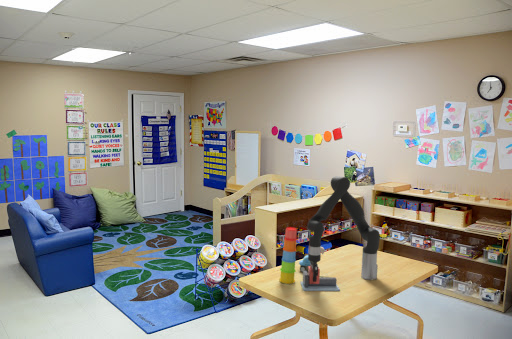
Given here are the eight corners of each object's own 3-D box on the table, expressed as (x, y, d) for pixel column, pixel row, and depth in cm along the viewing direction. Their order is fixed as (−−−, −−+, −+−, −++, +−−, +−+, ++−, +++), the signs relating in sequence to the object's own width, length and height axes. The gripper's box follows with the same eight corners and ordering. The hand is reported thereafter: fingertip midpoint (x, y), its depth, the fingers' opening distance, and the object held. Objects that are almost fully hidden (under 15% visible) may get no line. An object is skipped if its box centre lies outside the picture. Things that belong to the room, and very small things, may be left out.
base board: (334, 283, 252) (334, 281, 251) (339, 290, 240) (339, 289, 239) (300, 283, 250) (300, 281, 250) (303, 290, 239) (303, 289, 238)
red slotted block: (317, 280, 248) (317, 266, 247) (319, 283, 242) (319, 269, 241) (307, 280, 247) (308, 266, 246) (309, 283, 241) (309, 269, 240)
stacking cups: (286, 276, 260) (288, 225, 257) (298, 281, 253) (300, 228, 250) (275, 280, 253) (277, 227, 250) (287, 285, 246) (289, 230, 242)
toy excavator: (323, 274, 267) (324, 249, 265) (298, 271, 270) (299, 247, 269) (323, 269, 275) (324, 245, 274) (299, 267, 279) (300, 243, 277)
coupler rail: (334, 283, 249) (334, 270, 248) (337, 287, 242) (337, 274, 241) (302, 283, 248) (303, 270, 247) (304, 287, 241) (304, 274, 240)
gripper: (323, 256, 236) (322, 284, 237) (318, 249, 250) (317, 275, 252) (310, 256, 235) (309, 284, 237) (306, 249, 250) (305, 275, 251)
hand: (313, 279), depth 244 cm, fingers closed on red slotted block, 6 cm apart
